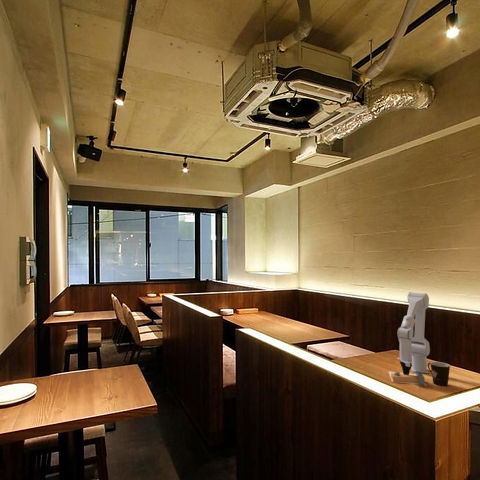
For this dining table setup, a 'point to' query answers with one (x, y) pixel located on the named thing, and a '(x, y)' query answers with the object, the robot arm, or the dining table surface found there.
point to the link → (404, 378)
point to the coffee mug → (440, 373)
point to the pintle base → (404, 382)
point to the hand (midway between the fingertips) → (406, 376)
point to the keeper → (420, 378)
